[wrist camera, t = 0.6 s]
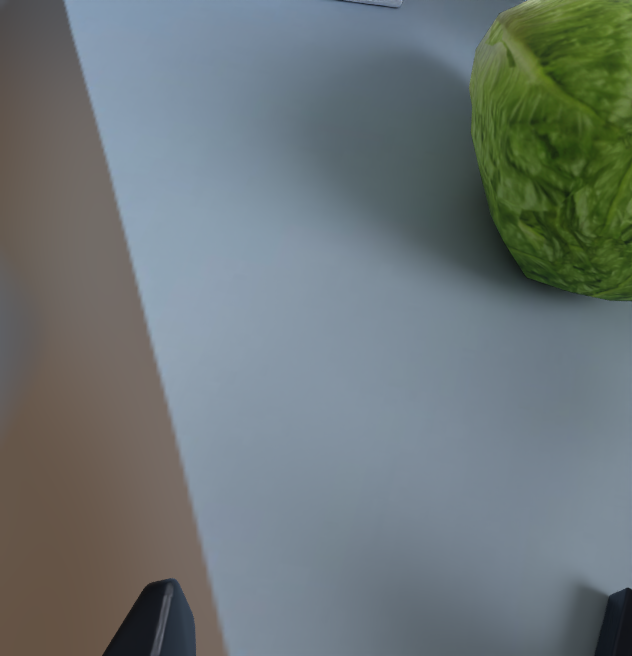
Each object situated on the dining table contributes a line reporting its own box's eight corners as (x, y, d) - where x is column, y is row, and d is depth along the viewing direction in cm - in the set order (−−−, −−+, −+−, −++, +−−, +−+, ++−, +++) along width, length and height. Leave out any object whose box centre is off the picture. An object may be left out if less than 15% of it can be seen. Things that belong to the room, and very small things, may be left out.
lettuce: (651, 27, 44) (541, -147, 36) (919, 223, 27) (820, -29, 19) (490, 164, 51) (368, 43, 43) (622, 390, 34) (457, 257, 26)
